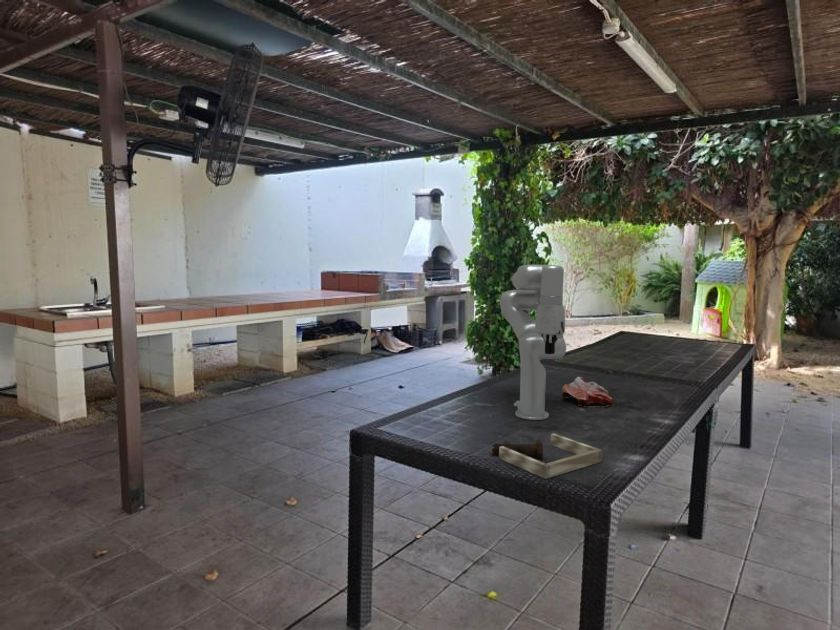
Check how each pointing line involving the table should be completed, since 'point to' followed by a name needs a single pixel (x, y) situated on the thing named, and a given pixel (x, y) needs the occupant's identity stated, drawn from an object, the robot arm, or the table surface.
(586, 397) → the meat
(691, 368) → the table surface
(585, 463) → the bay
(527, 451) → the bolt
